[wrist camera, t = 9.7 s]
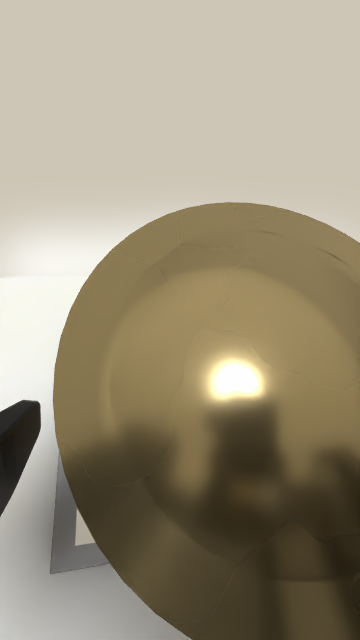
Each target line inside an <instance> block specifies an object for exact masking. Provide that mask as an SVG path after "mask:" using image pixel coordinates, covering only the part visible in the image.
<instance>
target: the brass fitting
mask: <svg viewBox="0 0 360 640" xmlns="http://www.w3.org/2000/svg"><path fill="white" fill-rule="evenodd" d="M53 407H54V420H55V432H56V438H57V443H58V448H59V452H60V457H61V461H62V466H63V470H64V474H65V476H66V479H67V482H68V484H69V487H70V490H71V493H72V495H73V498H74V501H75V503H76V506H77V509H78V511H79V513H80V515H81V516H82V518H83V520H84V522H85V524H86V526H87V528H88V529H89V531H90V533H91V535H92V537H93V539H94V541H95V542H96V544H97V546H98V548H99V549H100V550H101V552H102V553H103V554H104V556H105V557H106V558H107V560H108V561H109V562H110V564H111V565H112V567H113V568H114V569H115V571H116V572H117V573H118V575H119V576H120V577H121V579H122V580H123V581H124V582H125V583H126V584H127V585H128V586H129V587H130V588H131V589H132V590H133V591H134V592H135V593H136V594H137V595H138V596H139V597H140V598H141V599H142V600H143V601H144V602H145V603H146V604H147V605H148V606H149V607H150V608H151V609H152V610H153V611H154V612H155V613H156V614H157V615H159V616H160V617H161V618H163V619H164V620H166V621H167V622H168V623H170V624H171V625H172V626H174V627H175V628H177V629H178V630H179V631H181V632H182V633H184V634H185V635H186V636H188V637H189V638H190V639H192V640H360V243H359V242H357V241H356V240H354V239H353V238H351V237H349V236H348V235H346V234H344V233H343V232H341V231H339V230H337V229H335V228H333V227H331V226H329V225H327V224H325V223H322V222H320V221H318V220H315V219H313V218H311V217H308V216H306V215H302V214H299V213H296V212H293V211H290V210H286V209H282V208H277V207H273V206H268V205H260V204H253V203H230V202H229V203H228V202H227V203H215V204H206V205H200V206H195V207H191V208H186V209H183V210H179V211H176V212H173V213H170V214H167V215H165V216H163V217H161V218H158V219H156V220H154V221H152V222H150V223H148V224H146V225H145V226H143V227H141V228H140V229H138V230H136V231H135V232H133V233H132V234H130V235H129V236H128V237H126V238H125V239H124V240H123V241H121V242H120V243H119V244H118V245H117V246H115V247H114V248H113V249H112V250H111V251H110V252H109V253H108V254H107V255H106V256H105V257H104V259H103V260H102V261H101V262H100V263H99V264H98V265H97V266H96V268H95V269H94V270H93V272H92V273H91V275H90V276H89V277H88V279H87V280H86V282H85V283H84V285H83V286H82V288H81V290H80V292H79V294H78V296H77V298H76V300H75V301H74V303H73V305H72V307H71V309H70V312H69V315H68V318H67V320H66V323H65V326H64V329H63V332H62V335H61V338H60V343H59V348H58V353H57V358H56V363H55V372H54V390H53Z"/></svg>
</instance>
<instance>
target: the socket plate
mask: <svg viewBox="0 0 360 640" xmlns="http://www.w3.org/2000/svg"><path fill="white" fill-rule="evenodd" d="M105 564H110V562H109V561H108V560H107V558H106V557H105V556H104V554H103V553H102V552H101V550H100V549H99V548H98V546H97V544H96V542H95V541H94V539H93V537H92V535H91V533H90V531H89V529H88V528H87V526H86V524H85V522H84V520H83V518H82V516H81V515H80V513H79V511H78V509H77V506H76V503H75V501H74V498H73V495H72V493H71V490H70V487H69V484H68V482H67V479H66V476H65V474H64V470H63V466H62V461H61V457H60V452H59V459H58V473H57V486H56V500H55V513H54V527H53V540H52V554H51V567H50V574H54V573H60V572H66V571H71V570H77V569H82V568H88V567H94V566H99V565H105Z"/></svg>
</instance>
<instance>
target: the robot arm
mask: <svg viewBox="0 0 360 640" xmlns="http://www.w3.org/2000/svg"><path fill="white" fill-rule="evenodd" d="M40 428H41V413H40V403H39V402H38V401H31V400H22V401H20V402H18V403H16V404H14V405H12V406H10V407H8V408H6V409H4V410H3V411H1V412H0V516H1V515H2V513H3V511H4V509H5V507H6V506H7V504H8V502H9V500H10V498H11V496H12V494H13V492H14V490H15V488H16V486H17V484H18V481H19V479H20V477H21V474H22V472H23V470H24V468H25V465H26V463H27V461H28V458H29V456H30V454H31V451H32V449H33V447H34V445H35V442H36V440H37V438H38V435H39V432H40Z"/></svg>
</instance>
